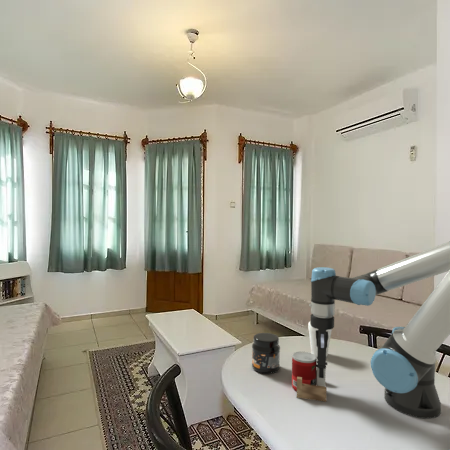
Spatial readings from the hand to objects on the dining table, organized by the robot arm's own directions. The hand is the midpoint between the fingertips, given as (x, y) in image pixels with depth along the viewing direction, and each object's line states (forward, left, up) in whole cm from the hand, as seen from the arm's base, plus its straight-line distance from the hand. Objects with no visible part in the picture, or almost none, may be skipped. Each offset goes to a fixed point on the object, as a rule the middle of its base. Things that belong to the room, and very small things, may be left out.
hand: (320, 385), depth 108 cm
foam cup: (+15, -25, -2) cm, 29 cm away
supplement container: (+23, +1, -2) cm, 23 cm away
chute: (+3, +2, -2) cm, 3 cm away
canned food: (+5, +3, -2) cm, 6 cm away
